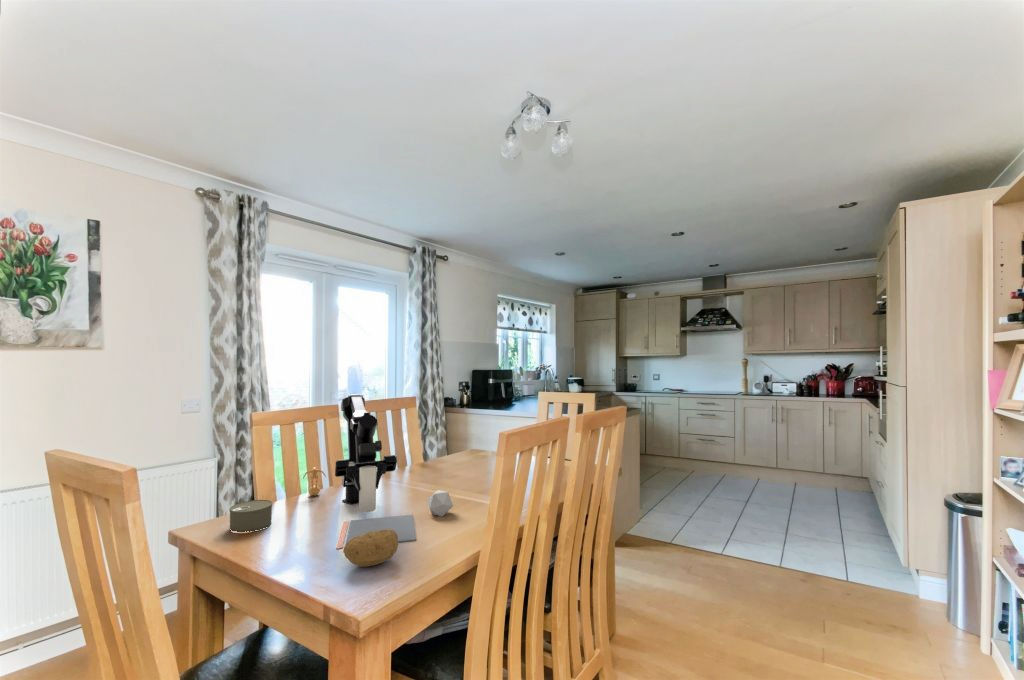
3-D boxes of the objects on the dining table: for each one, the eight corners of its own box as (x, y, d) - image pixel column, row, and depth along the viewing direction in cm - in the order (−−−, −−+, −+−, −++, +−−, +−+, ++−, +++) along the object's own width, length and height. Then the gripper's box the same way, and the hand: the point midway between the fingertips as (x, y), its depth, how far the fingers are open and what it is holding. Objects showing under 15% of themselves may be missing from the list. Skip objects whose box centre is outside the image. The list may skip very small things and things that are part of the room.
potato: (339, 564, 117) (339, 533, 118) (392, 551, 125) (392, 522, 125) (348, 579, 109) (348, 546, 109) (403, 565, 117) (404, 533, 117)
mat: (344, 548, 127) (344, 546, 127) (351, 521, 148) (351, 520, 148) (416, 540, 132) (416, 539, 132) (412, 515, 153) (412, 514, 153)
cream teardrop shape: (355, 511, 137) (356, 469, 138) (364, 506, 142) (364, 465, 143) (370, 512, 136) (371, 469, 137) (378, 507, 141) (379, 465, 142)
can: (279, 525, 145) (279, 503, 145) (240, 537, 135) (240, 514, 135) (260, 518, 152) (261, 497, 152) (221, 529, 142) (222, 507, 142)
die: (457, 515, 155) (453, 488, 161) (447, 510, 148) (443, 482, 154) (436, 523, 156) (432, 496, 162) (425, 518, 149) (422, 490, 155)
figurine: (325, 493, 180) (326, 462, 180) (325, 497, 174) (325, 466, 175) (303, 495, 177) (303, 464, 177) (301, 499, 171) (302, 468, 172)
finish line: (342, 548, 127) (342, 547, 127) (336, 549, 126) (336, 548, 126) (348, 521, 148) (348, 520, 148) (343, 522, 147) (343, 521, 147)
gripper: (335, 434, 140) (337, 478, 129) (396, 430, 148) (402, 471, 137) (334, 454, 147) (335, 498, 136) (392, 449, 154) (397, 490, 144)
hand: (368, 489), depth 138 cm, fingers closed on cream teardrop shape, 5 cm apart
